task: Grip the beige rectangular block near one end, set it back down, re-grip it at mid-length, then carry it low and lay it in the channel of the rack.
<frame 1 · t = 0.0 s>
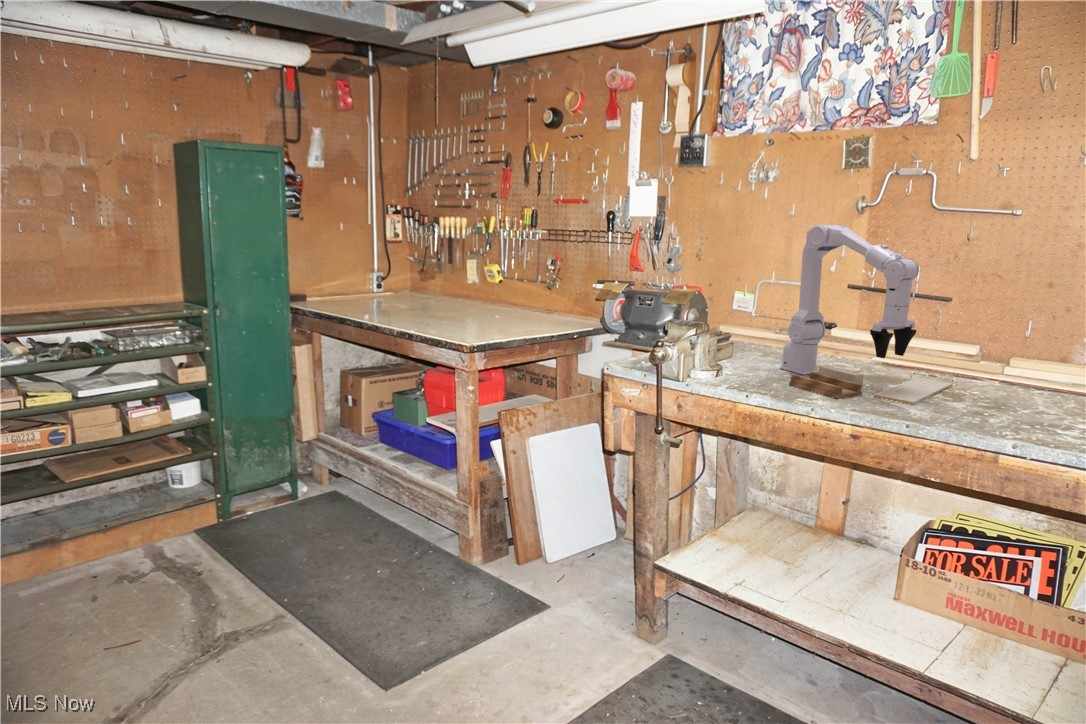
hand: (890, 356, 183), 10 cm above the table, tool pointing down, fingers open, 7 cm apart
baseboard: (909, 393, 188), on the table
rack: (824, 390, 186), on the table
beige rectangular block: (839, 384, 195), on the table
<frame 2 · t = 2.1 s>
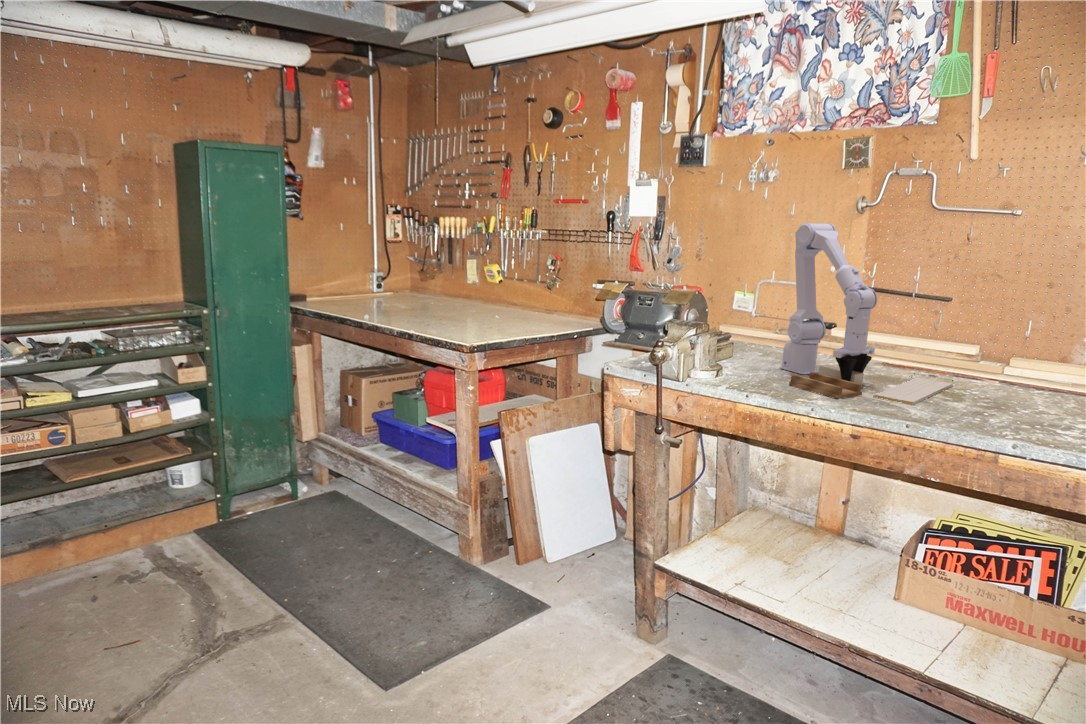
hand: (850, 380, 192), 1 cm above the table, tool pointing down, fingers closed on beige rectangular block, 4 cm apart
beige rectangular block: (839, 383, 195), on the table, touching gripper
everything else where it was.
when the fingers open (2 cm above the table, at t = 3.4 s): beige rectangular block stays where it is, on the table.
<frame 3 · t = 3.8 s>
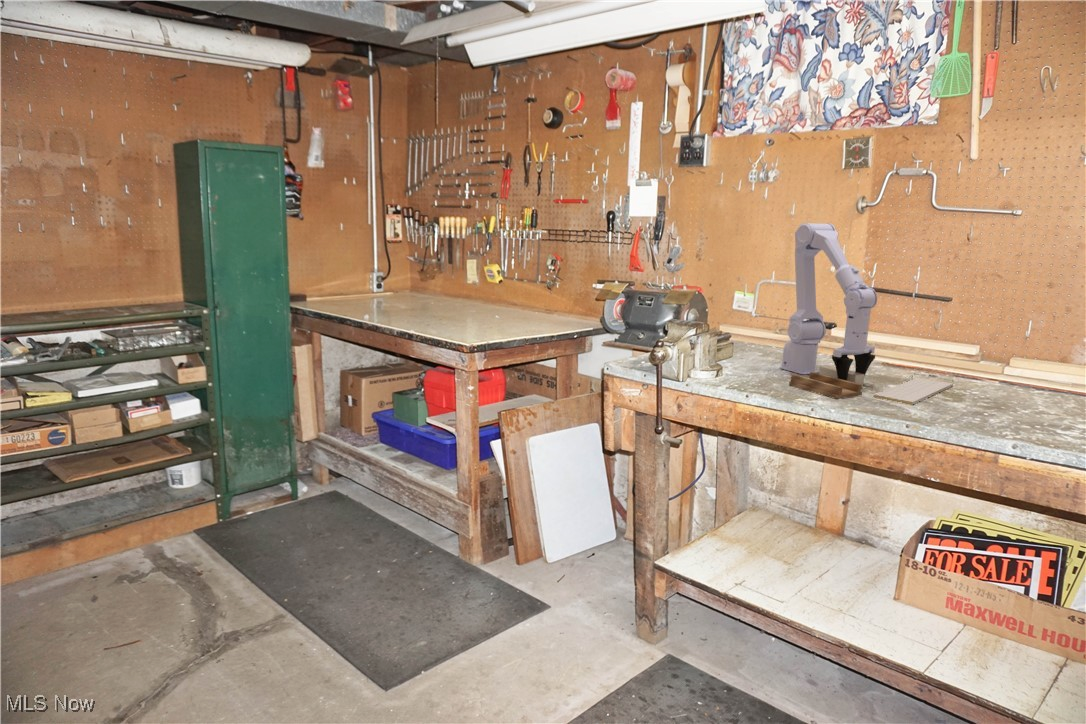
hand: (850, 380, 192), 2 cm above the table, tool pointing down, fingers open, 7 cm apart
beige rectangular block: (840, 384, 195), on the table
everything else where it was.
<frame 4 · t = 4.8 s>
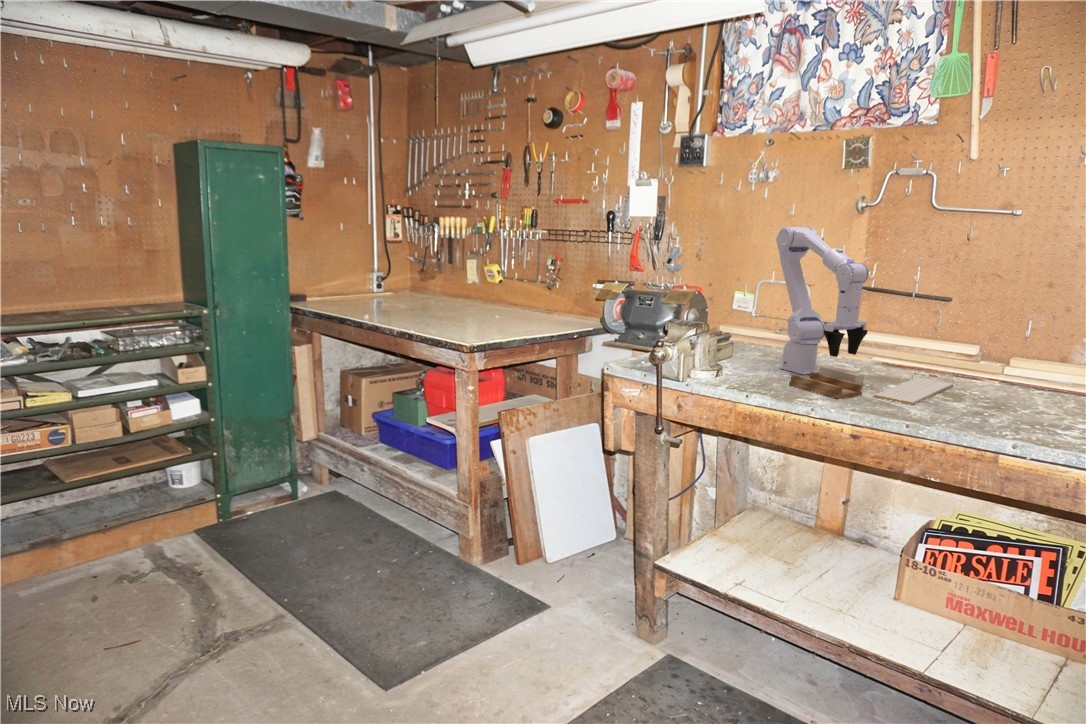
hand: (842, 355, 193), 8 cm above the table, tool pointing down, fingers open, 7 cm apart
nothing on the table moved.
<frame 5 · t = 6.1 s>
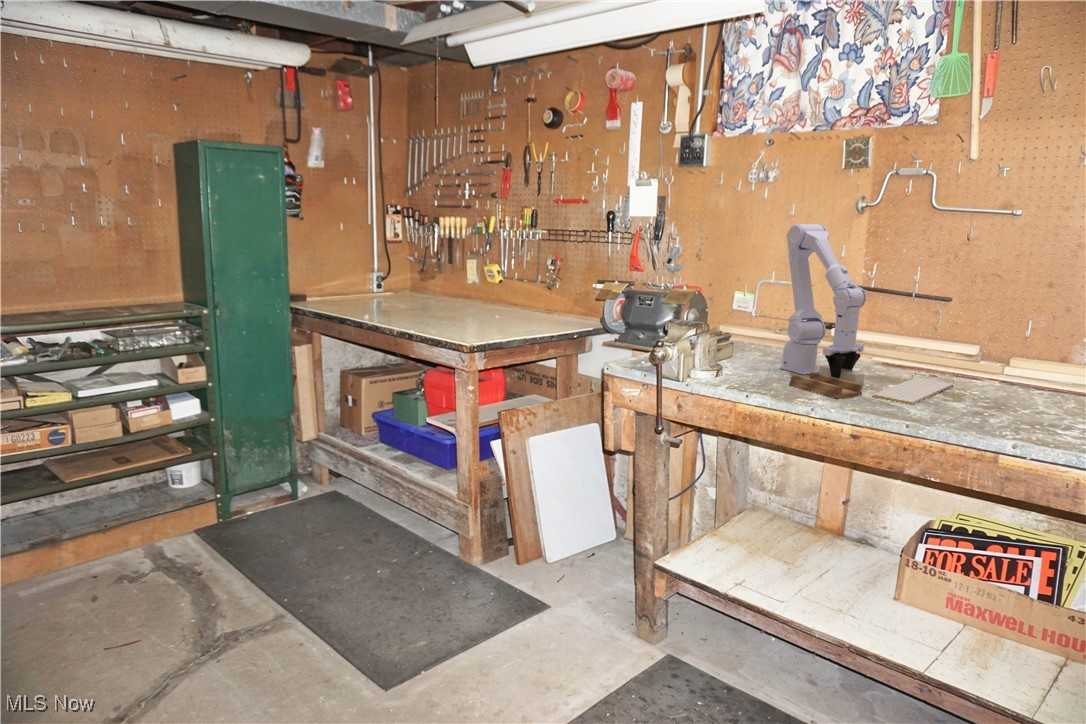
hand: (840, 378, 195), 1 cm above the table, tool pointing down, fingers closed on beige rectangular block, 4 cm apart
beige rectangular block: (840, 383, 195), on the table, touching gripper
everything else where it was.
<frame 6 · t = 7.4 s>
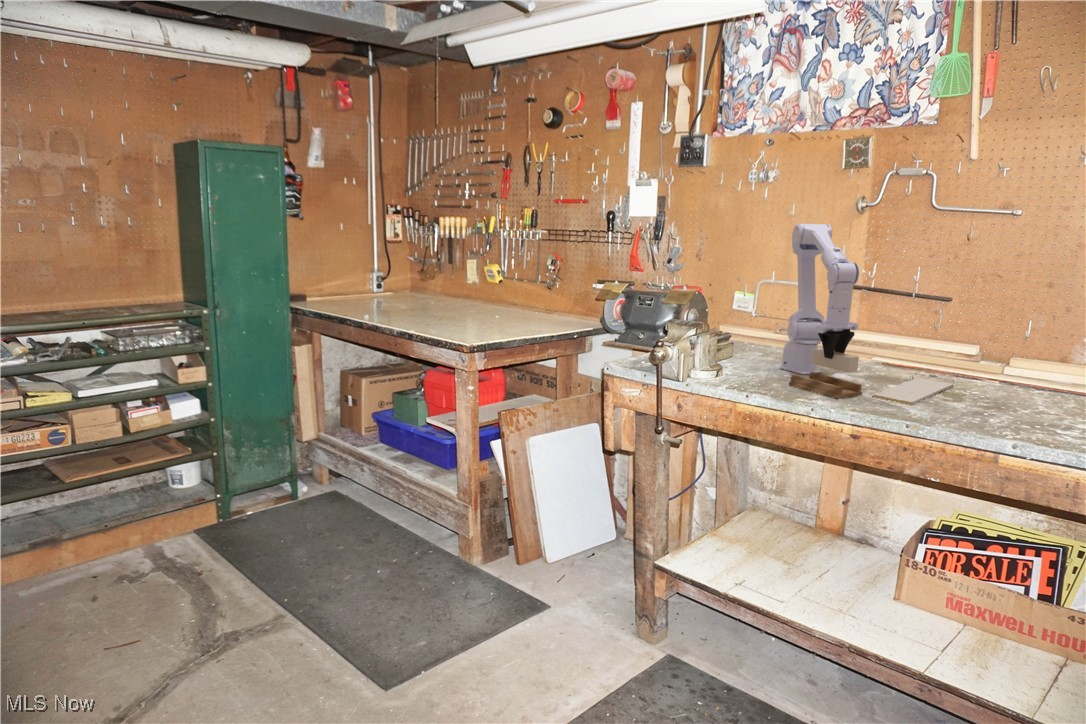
hand: (833, 357, 187), 9 cm above the table, tool pointing down, fingers closed on beige rectangular block, 4 cm apart
beige rectangular block: (833, 367, 188), point 6 cm above the table, touching gripper
everything else where it was.
when the fingers open (4 cm above the table, at t = 8.8 s): beige rectangular block stays where it is, resting on rack.
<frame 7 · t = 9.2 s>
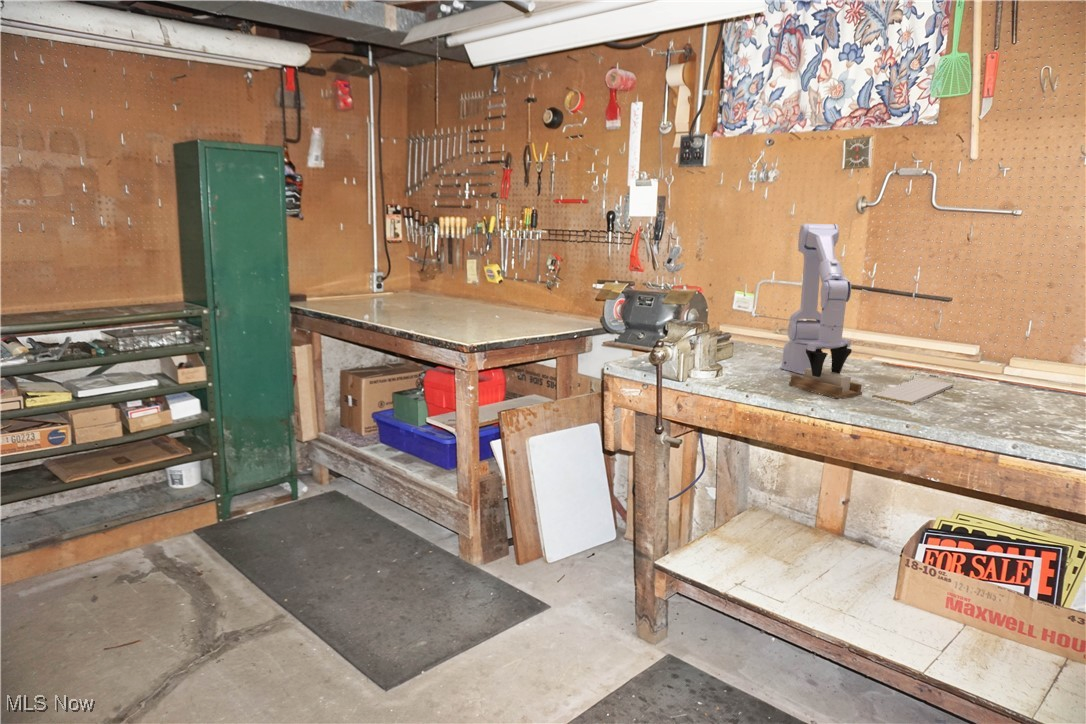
hand: (826, 375, 185), 4 cm above the table, tool pointing down, fingers open, 7 cm apart
beige rectangular block: (825, 386, 186), point 1 cm above the table, touching rack
everything else where it was.
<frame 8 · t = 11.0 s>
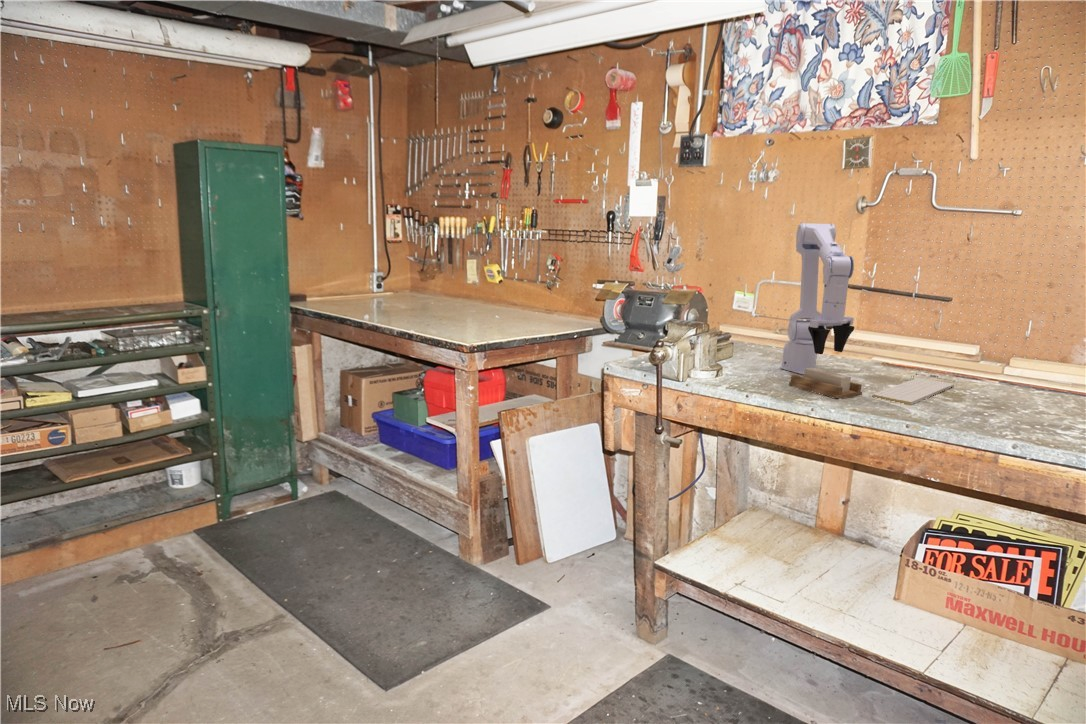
hand: (828, 352, 184), 10 cm above the table, tool pointing down, fingers open, 7 cm apart
nothing on the table moved.
at the end: beige rectangular block 0.3 cm off-centre on the rack, point 1.0 cm above the rack's base; beige rectangular block tilted 0°; the gripper is holding nothing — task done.
